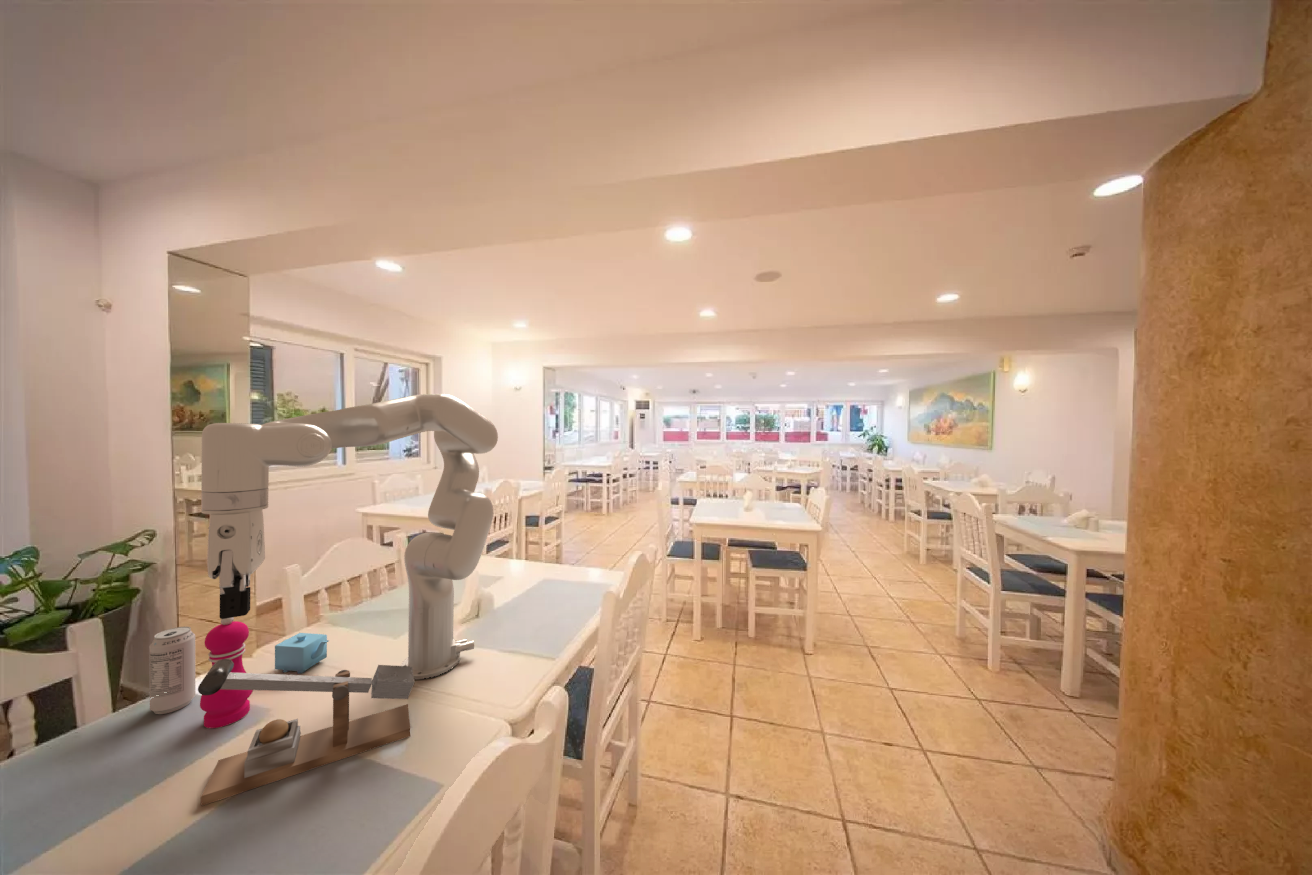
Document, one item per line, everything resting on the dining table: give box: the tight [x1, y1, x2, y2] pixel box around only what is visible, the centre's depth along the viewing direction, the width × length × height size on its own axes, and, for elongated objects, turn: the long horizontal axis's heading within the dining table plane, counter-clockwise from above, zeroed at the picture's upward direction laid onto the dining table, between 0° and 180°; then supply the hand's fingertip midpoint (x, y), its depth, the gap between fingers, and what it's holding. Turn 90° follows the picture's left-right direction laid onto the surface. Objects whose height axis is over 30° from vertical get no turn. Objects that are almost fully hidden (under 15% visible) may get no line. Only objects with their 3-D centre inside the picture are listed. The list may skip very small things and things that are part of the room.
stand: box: [200, 669, 411, 807], centre depth 73 cm, size 27×8×12 cm, turn 123°
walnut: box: [259, 718, 288, 744], centre depth 70 cm, size 4×4×4 cm
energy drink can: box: [148, 626, 196, 715], centre depth 84 cm, size 6×6×15 cm
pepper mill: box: [199, 617, 254, 729], centre depth 81 cm, size 7×7×20 cm
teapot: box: [274, 632, 330, 675], centre depth 98 cm, size 12×6×8 cm, turn 85°
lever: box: [197, 659, 415, 700], centre depth 73 cm, size 29×6×3 cm, turn 123°
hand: (235, 614), depth 67 cm, fingers closed
